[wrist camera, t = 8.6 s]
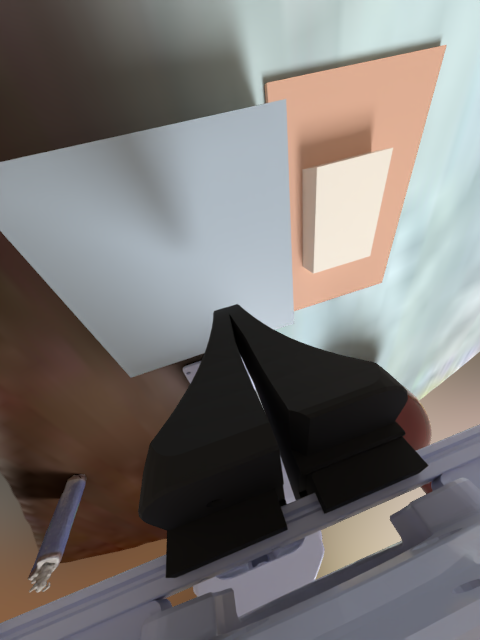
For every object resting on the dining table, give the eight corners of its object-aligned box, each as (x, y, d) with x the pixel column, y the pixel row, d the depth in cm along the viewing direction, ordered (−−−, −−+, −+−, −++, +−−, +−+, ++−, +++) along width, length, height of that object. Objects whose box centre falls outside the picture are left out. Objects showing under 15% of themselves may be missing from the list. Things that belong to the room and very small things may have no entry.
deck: (277, 303, 22) (294, 323, 19) (138, 348, 21) (130, 377, 17) (260, 120, 13) (286, 98, 10) (11, 177, 12) (-51, 173, 9)
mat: (379, 281, 24) (381, 282, 24) (282, 312, 23) (283, 314, 23) (440, 48, 13) (446, 44, 13) (264, 85, 12) (266, 82, 12)
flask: (69, 474, 30) (27, 586, 22) (91, 473, 32) (60, 578, 23) (58, 499, 34) (17, 605, 25) (78, 497, 35) (46, 596, 27)
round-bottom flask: (351, 402, 42) (455, 534, 26) (302, 406, 37) (394, 569, 21) (391, 358, 36) (560, 496, 20) (338, 355, 31) (507, 534, 15)
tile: (313, 273, 18) (302, 266, 20) (370, 256, 19) (355, 250, 20) (317, 167, 13) (302, 169, 15) (393, 147, 14) (371, 151, 16)
